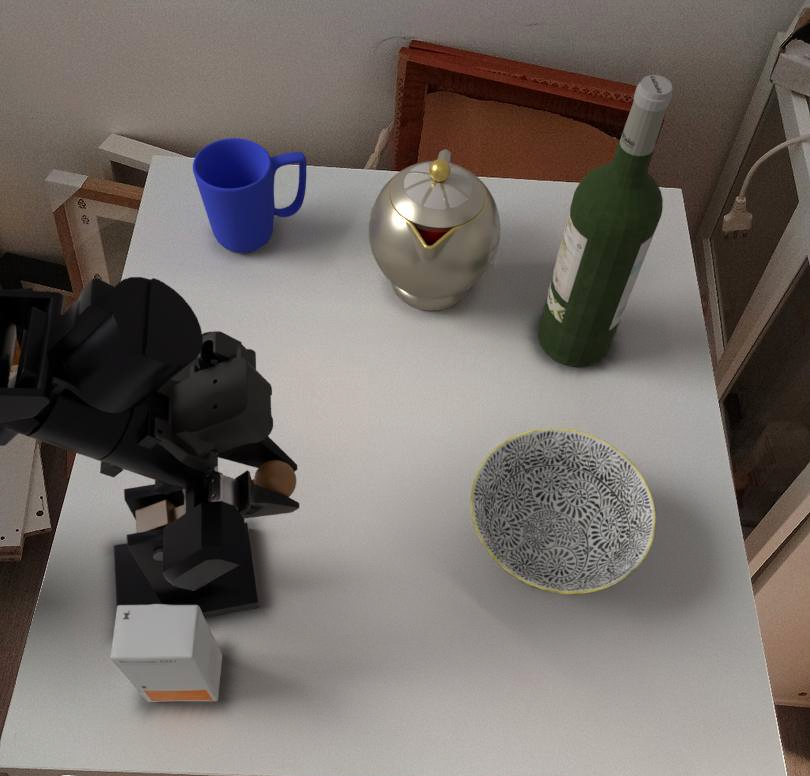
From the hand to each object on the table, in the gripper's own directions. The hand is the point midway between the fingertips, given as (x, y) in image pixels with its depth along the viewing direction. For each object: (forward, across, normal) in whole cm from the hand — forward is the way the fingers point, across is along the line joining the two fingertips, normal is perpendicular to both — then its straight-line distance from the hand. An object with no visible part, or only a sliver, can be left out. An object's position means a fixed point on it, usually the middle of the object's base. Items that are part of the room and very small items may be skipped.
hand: (295, 489), depth 64 cm
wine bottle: (+30, +23, -12) cm, 40 cm away
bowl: (+25, 0, -7) cm, 26 cm away
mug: (+7, +42, +12) cm, 44 cm away
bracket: (+2, -1, +17) cm, 17 cm away
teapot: (+20, +34, -2) cm, 40 cm away
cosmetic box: (+2, -10, +17) cm, 20 cm away
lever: (-3, 0, +5) cm, 6 cm away
